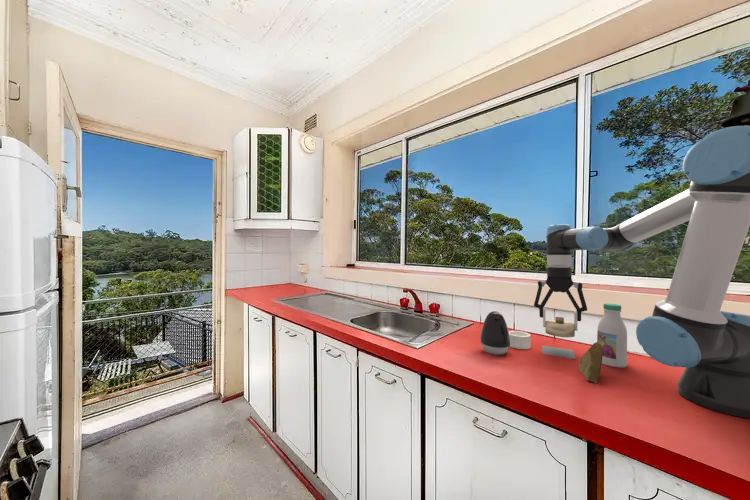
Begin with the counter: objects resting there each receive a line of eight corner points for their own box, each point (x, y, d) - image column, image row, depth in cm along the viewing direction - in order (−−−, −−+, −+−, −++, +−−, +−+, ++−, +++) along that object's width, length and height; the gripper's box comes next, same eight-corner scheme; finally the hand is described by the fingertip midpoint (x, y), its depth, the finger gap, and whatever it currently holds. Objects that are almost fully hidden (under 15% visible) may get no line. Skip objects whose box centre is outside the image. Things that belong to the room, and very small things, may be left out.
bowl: (529, 351, 105) (529, 338, 105) (506, 347, 109) (506, 334, 109) (530, 345, 112) (530, 332, 112) (508, 341, 116) (508, 329, 116)
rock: (608, 380, 77) (621, 367, 83) (585, 351, 81) (599, 340, 87) (573, 390, 85) (587, 377, 91) (554, 362, 89) (568, 352, 94)
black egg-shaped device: (482, 356, 100) (482, 313, 100) (478, 346, 110) (478, 307, 110) (513, 359, 98) (513, 315, 98) (506, 348, 108) (507, 309, 108)
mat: (575, 360, 97) (575, 359, 97) (542, 354, 102) (542, 353, 102) (573, 351, 106) (573, 350, 106) (542, 346, 111) (542, 345, 111)
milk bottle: (615, 359, 98) (616, 302, 98) (633, 369, 90) (634, 307, 90) (591, 358, 99) (592, 301, 99) (607, 368, 91) (608, 306, 91)
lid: (576, 338, 97) (575, 321, 97) (545, 335, 102) (545, 318, 102) (573, 332, 105) (573, 316, 105) (545, 329, 110) (545, 314, 110)
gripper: (594, 267, 102) (595, 329, 101) (526, 265, 113) (526, 322, 112) (597, 267, 95) (598, 334, 95) (525, 266, 106) (525, 326, 106)
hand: (559, 328), depth 103 cm, fingers closed on lid, 9 cm apart
